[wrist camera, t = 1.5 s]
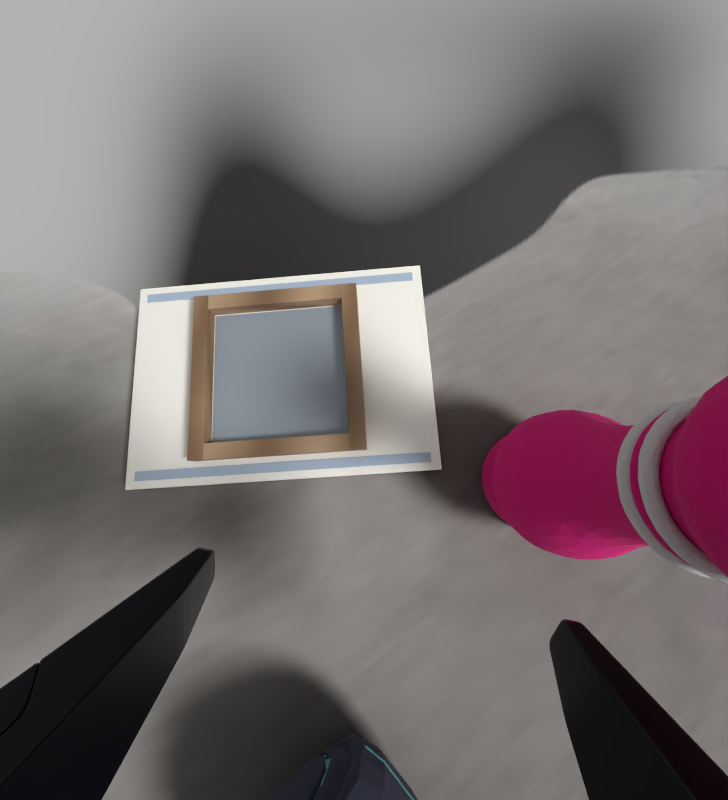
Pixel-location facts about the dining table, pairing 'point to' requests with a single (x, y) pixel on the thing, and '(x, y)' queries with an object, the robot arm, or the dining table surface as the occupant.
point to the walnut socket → (204, 364)
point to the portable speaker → (346, 775)
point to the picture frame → (285, 382)
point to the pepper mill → (620, 483)
